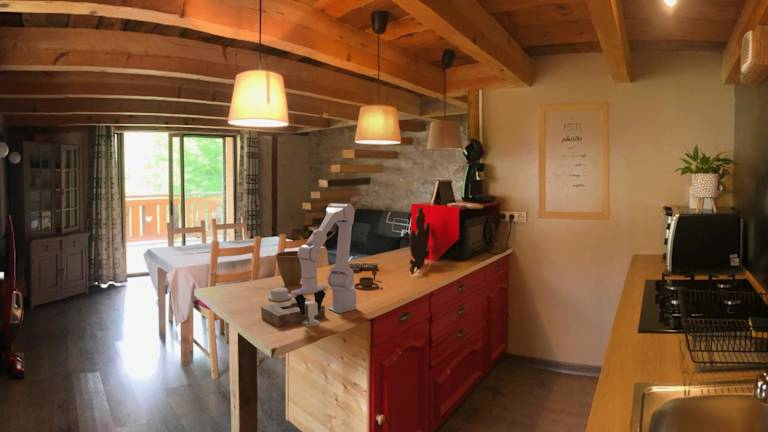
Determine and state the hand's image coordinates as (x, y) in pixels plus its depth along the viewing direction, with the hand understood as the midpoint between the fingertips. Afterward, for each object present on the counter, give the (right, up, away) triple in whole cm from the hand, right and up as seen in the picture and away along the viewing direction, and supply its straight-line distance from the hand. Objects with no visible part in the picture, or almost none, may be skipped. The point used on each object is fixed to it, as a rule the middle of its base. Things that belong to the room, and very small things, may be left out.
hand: (310, 312), depth 180 cm
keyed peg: (0, -5, 0) cm, 5 cm away
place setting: (+22, +1, +59) cm, 63 cm away
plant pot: (-19, +1, +62) cm, 64 cm away
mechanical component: (-20, -2, +37) cm, 41 cm away
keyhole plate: (-8, -4, +9) cm, 13 cm away
